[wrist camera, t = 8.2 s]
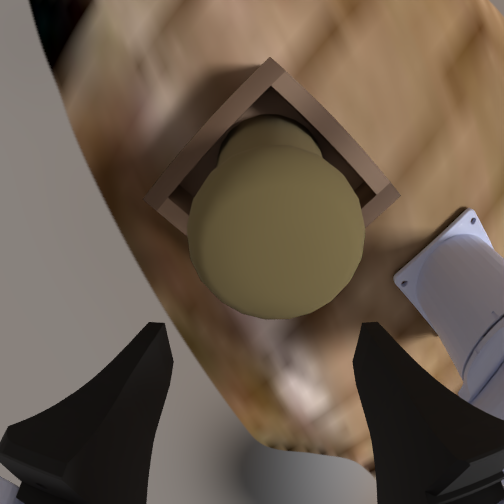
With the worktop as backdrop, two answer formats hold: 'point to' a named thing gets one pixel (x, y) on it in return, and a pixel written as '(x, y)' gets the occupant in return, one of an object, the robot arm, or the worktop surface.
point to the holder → (269, 102)
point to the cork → (275, 222)
